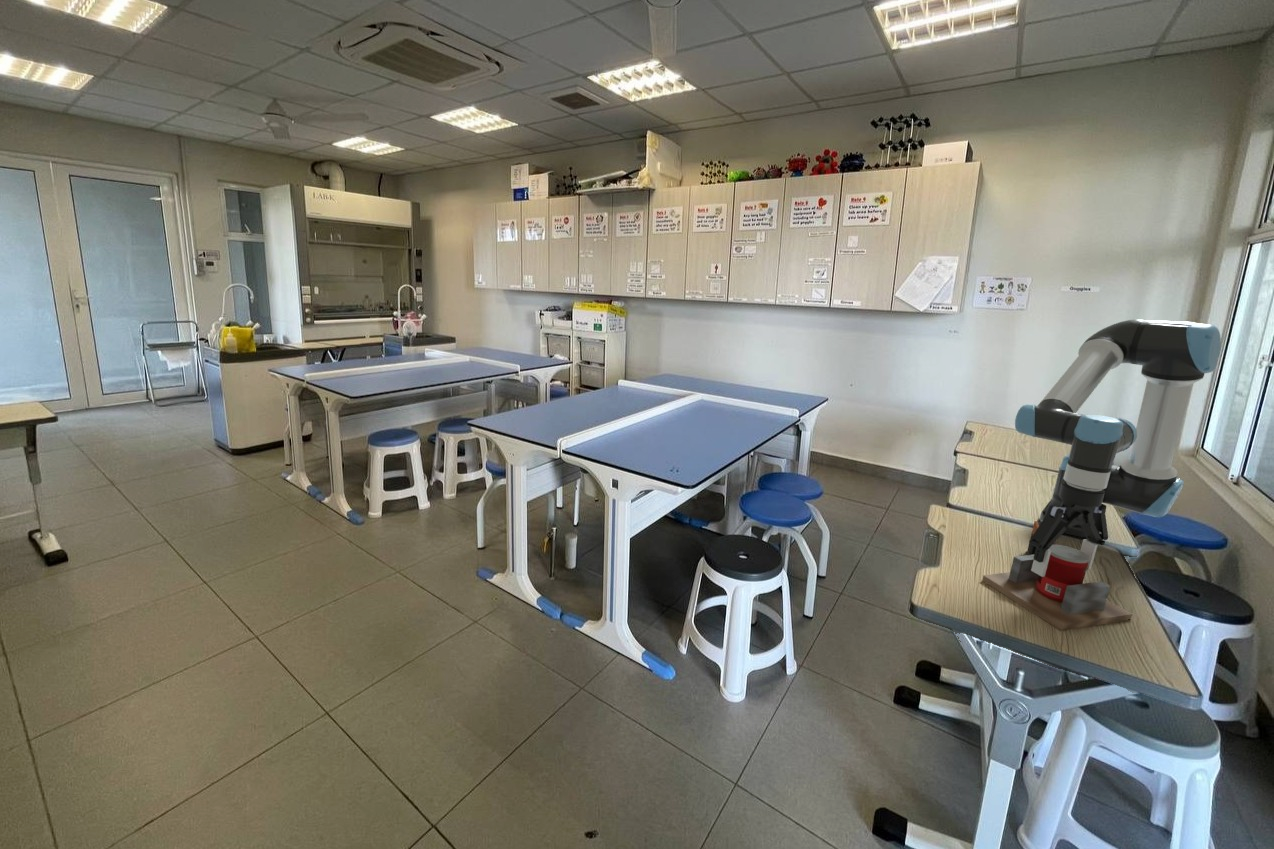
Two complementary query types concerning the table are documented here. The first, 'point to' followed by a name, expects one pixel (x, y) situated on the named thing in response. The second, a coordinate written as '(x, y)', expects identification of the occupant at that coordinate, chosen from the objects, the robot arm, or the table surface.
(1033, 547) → the battery
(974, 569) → the table surface
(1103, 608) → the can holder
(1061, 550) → the canned food
